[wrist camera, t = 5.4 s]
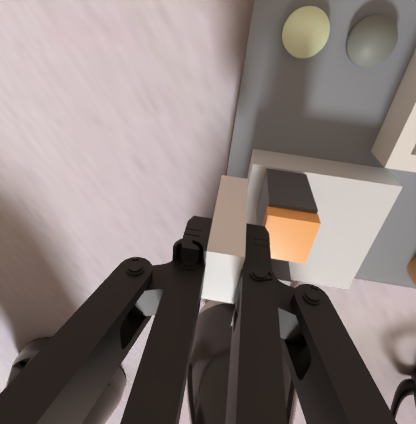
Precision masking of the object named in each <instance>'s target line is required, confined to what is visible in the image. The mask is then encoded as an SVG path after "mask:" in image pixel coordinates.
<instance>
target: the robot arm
mask: <svg viewBox="0 0 416 424" xmlns="http://www.w3.org/2000/svg"><path fill="white" fill-rule="evenodd" d="M247 193H248V179H245V178H239V177H232V176H225V175H222V176H221V181H220V186H219V191H218V196H217V201H216V206H215V211H214V216H213V219H211V218H204V217H198V216H193V217H192V218H191V219H190V220H189V221H188V223H187V226H186V229H185V232H184V235H183V239H180V240H178V241H177V242H176V243H175V244H174V246H173V261H171V262H169V263H166V264H162V265H153V266H152V264H151V263H150V262H149V261H148V260H146V259H145V258H140V257H133V258H129V259H126V260H124V261H123V262H122V263H121V264H120V265H119V266H118V267H117V268H116V269H115V270H114V271H113V272H112V273H111V274H110V275H109V277H108V278H107V279H106V280H105V281H104V282H103V283H102V284H101V285H100V286H99V287H98V288H97V289H96V291H95V292H94V293H93V294H92V295H91V296H90V297H89V298H88V299H87V300H86V301H85V302H84V304H83V305H82V306H81V307H80V308H79V309H78V310H77V311H76V312H75V313H74V314H73V315H72V317H71V318H70V319H69V320H68V321H67V322H66V323H65V324H64V325H63V326H62V327H61V328H60V330H59V331H58V332H57V333H56V334H55V335H54V336H53V337H52V338H43V339H37V340H34V341H31V342H29V343H28V344H27V345H25V347H24V348H23V349H22V351H21V352H20V354H19V355H18V357H17V358H16V360H15V361H14V363H13V366H12V368H11V372H10V375H9V378H8V381H7V384H6V387H5V389H4V390H3V391H2V392H1V393H0V424H105V423H106V421H107V420H108V419H109V417H110V416H111V414H112V413H113V411H114V410H115V408H116V407H117V405H118V404H119V402H120V400H121V397H122V394H123V391H124V388H125V385H126V378H125V375H124V373H123V371H122V370H121V368H120V367H119V366H120V364H121V363H122V361H123V360H124V358H125V357H126V355H127V354H128V352H129V350H130V349H131V347H132V346H133V344H134V343H135V341H136V340H137V338H138V337H139V335H140V334H141V332H142V331H143V329H144V327H145V326H146V324H147V323H148V321H149V320H150V318H151V316H152V315H155V318H154V321H153V324H152V327H151V330H150V333H149V336H148V339H147V342H146V346H145V349H144V352H143V355H142V358H141V361H140V364H139V367H138V370H137V373H136V377H135V380H134V383H133V386H132V389H131V392H130V395H129V398H128V401H127V405H126V408H125V411H124V414H123V417H122V420H121V423H120V424H179V419H180V414H181V408H182V402H183V397H184V391H185V386H186V380H187V375H188V369H189V364H190V358H191V353H192V347H193V342H194V336H195V330H196V325H197V319H198V314H199V308H200V301H201V298H202V299H208V300H214V301H220V302H226V303H232V304H235V309H234V313H233V318H232V322H231V326H232V338H231V352H230V366H229V379H228V393H227V407H226V421H225V424H287V416H286V403H285V390H284V377H283V364H282V351H281V347H282V350H283V353H284V356H285V359H286V362H287V365H288V368H289V371H290V374H291V377H292V381H293V384H294V387H295V390H296V393H297V396H298V399H299V402H300V405H301V408H302V411H303V414H304V417H305V420H306V423H307V424H397V422H396V420H395V419H394V417H393V415H392V413H391V411H390V409H389V408H388V406H387V404H386V402H385V400H384V398H383V397H382V395H381V393H380V391H379V389H378V387H377V385H376V384H375V382H374V380H373V378H372V376H371V374H370V373H369V371H368V369H367V367H366V365H365V363H364V362H363V360H362V358H361V356H360V354H359V352H358V351H357V349H356V347H355V345H354V343H353V341H352V340H351V338H350V336H349V334H348V332H347V330H346V329H345V327H344V325H343V323H342V321H341V319H340V317H339V316H338V314H337V312H336V310H335V308H334V306H333V305H332V303H331V301H330V299H329V297H328V296H327V295H326V293H325V292H324V291H323V290H321V289H320V288H319V287H316V286H314V285H310V284H302V285H299V286H298V287H296V289H295V288H293V287H290V286H288V285H286V284H284V283H282V282H281V281H279V280H278V279H277V278H276V277H275V274H274V272H273V271H272V266H271V252H270V237H269V232H268V231H267V229H266V228H265V226H260V225H254V224H248V223H246V220H247Z"/></svg>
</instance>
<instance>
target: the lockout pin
mask: <svg viewBox="0 0 416 424" xmlns="http://www.w3.org/2000/svg"><path fill="white" fill-rule="evenodd" d="M407 274H408V275H409V277H410V279H411V281H412V282H413V284H414V286H415V287H416V257H414V258H413V259H412V260H411V261H410V262H409V264H408V265H407Z"/></svg>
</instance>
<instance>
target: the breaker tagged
mask: <svg viewBox="0 0 416 424" xmlns="http://www.w3.org/2000/svg"><path fill="white" fill-rule="evenodd" d="M317 212H318V209H317V206H316V203H315V200H314V197H313V193H312V190H311V187H310V184H309V181H308V178H307V175H306V174H301V173H294V172H288V171H281V170H275V169H268V168H266V171H265V175H264V180H263V184H262V188H261V192H260V197H259V201H258V205H257V209H256V215H257V225H260V226H265V228H266V229H267V231H268V232H269V237H270V252H271V258H272V259H278V260H284V261H290V262H296V263H303V264H305V263H306V260H307V258H308V255H309V253H310V250H311V248H312V245H313V242H314V240H315V237H316V235H317V232H318V230H319V227H320V225H321V222H320V219H319V216H318V214H317Z"/></svg>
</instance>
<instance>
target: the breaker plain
mask: <svg viewBox="0 0 416 424" xmlns="http://www.w3.org/2000/svg"><path fill="white" fill-rule="evenodd" d="M271 266H272V271H273V272H274V274H275V277H276V278H277V279H278V280H279V281H281V282H282V283H284V284H286V285H288V286H290V284H291V275H290V268H289V261H284V260H278V259H272V258H271Z"/></svg>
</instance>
